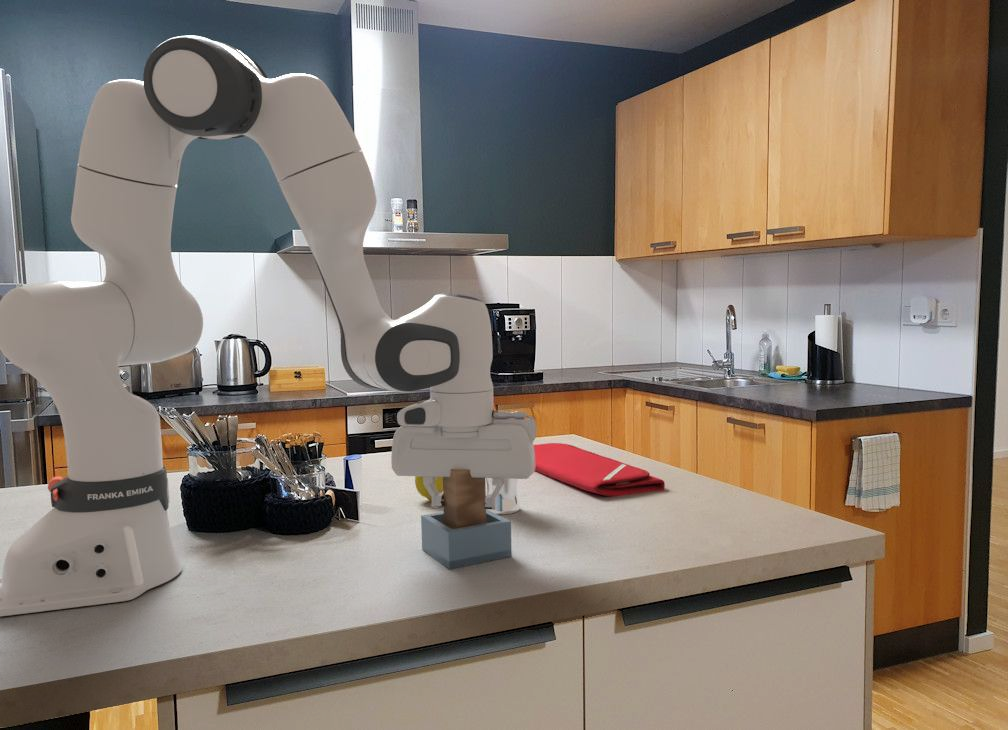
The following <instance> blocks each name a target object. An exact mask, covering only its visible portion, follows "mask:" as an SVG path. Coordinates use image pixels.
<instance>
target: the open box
mask: <svg viewBox="0 0 1008 730" xmlns="http://www.w3.org/2000/svg"><path fill="white" fill-rule="evenodd" d="M420 525H421V550H422V551H423V552H425V553H426V552H427V553H426V554H428V555H429V556H430V557H432V558H433V559H435V560H436V561H437V562H439V563H441V564H442V565H443V566H444V567H446V568H447V569H448V568H449V569H448V570H453V569H457V568H461V567H467V565H468V566H471V565H477V564H482V563H487V562H492V561H496V560H501V559H507V558H510V557H512V521H511V520H509V519H507V518H505V517H503V516H501V515H500V514H495V513H493V512H491V511H489V510H487V509H486V524H480V525H474V526H469V527H463V528H457V529H451V528H449V527H447V526H446V525H444V511H439V512H434V513H429V514H424V515H423V514H422V515H420ZM491 560H492V561H491ZM486 561H487V562H486Z"/></svg>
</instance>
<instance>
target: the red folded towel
mask: <svg viewBox="0 0 1008 730" xmlns="http://www.w3.org/2000/svg"><path fill="white" fill-rule="evenodd" d="M533 445H534V452H535V463H536V468H535V471H534V472H537V473H540V474H542V475H543V476H547V477H549V478H552V479H555V480H558V481H560V482H562V483H565V484H567V485H571V486H573V487H576V488H577V489H581V490H583V491H586V492H590V493H593V494H597V495H601V496H605V497H608V498H609V497H611V498H612V497H614V498H615V497H622V496H629V495H637V494H642V493H643V494H644V493H648V492H649V493H650V492H656V491H657V492H658V491H664V490H665V488H666V487H665V485H666V484H665V481H664V480H663V479H661V478H659V477H656V476H653V475H651V474H650V472H649V471H648V470H646V469H644V468H640V467H637V466H633V465H631V464H627V463H624V462H621V461H619V460H617V459H613V458H610V457H606V456H604V455H601V454H598V453H595V452H592V451H589V450H585V449H583V448H580V447H577V446H575V445H572V444H567V443H561V442H560V443H559V442H550V443H549V442H547V443H537V444H533Z"/></svg>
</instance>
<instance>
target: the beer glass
mask: <svg viewBox="0 0 1008 730" xmlns="http://www.w3.org/2000/svg"><path fill="white" fill-rule="evenodd" d="M518 481H519V479H509V478H505V483H504V485H503V487H502V488H501V490H500V492H499V494H498V495H497V508H496V509H487V510H489V511H491V512H493V513H495V514H497V515H509V514H510V515H511V514H515V513H518V512H519V511H520V509H521V507H520V503H519V497H518V496H519V495H518ZM496 486H497V485H496ZM496 486H493V485H492V478H485V488H486V495H487V494H492V493H493V492H494V490H495V488H496Z"/></svg>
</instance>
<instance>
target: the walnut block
mask: <svg viewBox="0 0 1008 730" xmlns="http://www.w3.org/2000/svg"><path fill="white" fill-rule="evenodd" d="M442 493H443V496H444V499H443V501H444V506H443V512H444V525H446V526H447V527H449V528H451V529H457V528H463V527H469V526H474V525H480V524H486V509H485V504H486V503H485V497H486V483H485V478H473V477H472V476H471V474H470V470H465V469H450V477H443V492H442Z"/></svg>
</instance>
